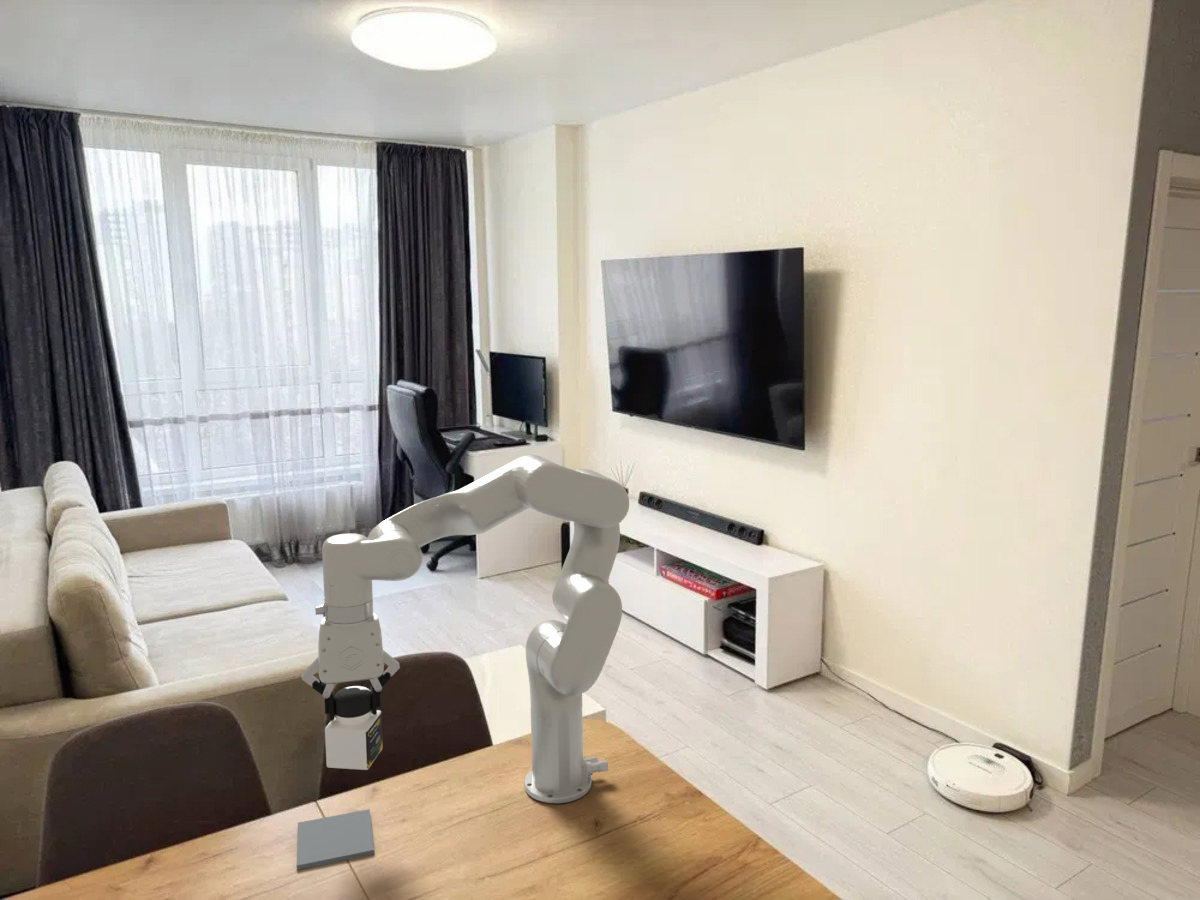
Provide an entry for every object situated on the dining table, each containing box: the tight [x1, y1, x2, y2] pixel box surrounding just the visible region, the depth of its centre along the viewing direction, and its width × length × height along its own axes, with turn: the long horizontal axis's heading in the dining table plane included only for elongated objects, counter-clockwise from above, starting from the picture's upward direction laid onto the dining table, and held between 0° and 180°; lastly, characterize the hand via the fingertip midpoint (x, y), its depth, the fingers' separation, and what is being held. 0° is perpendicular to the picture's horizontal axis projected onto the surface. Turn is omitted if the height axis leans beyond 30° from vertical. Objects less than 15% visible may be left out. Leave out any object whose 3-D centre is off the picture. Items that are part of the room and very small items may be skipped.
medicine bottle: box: [324, 685, 384, 771], centre depth 141 cm, size 7×7×12 cm
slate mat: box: [296, 808, 375, 871], centre depth 143 cm, size 12×12×1 cm
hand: (353, 713), depth 141 cm, fingers closed on medicine bottle, 6 cm apart
